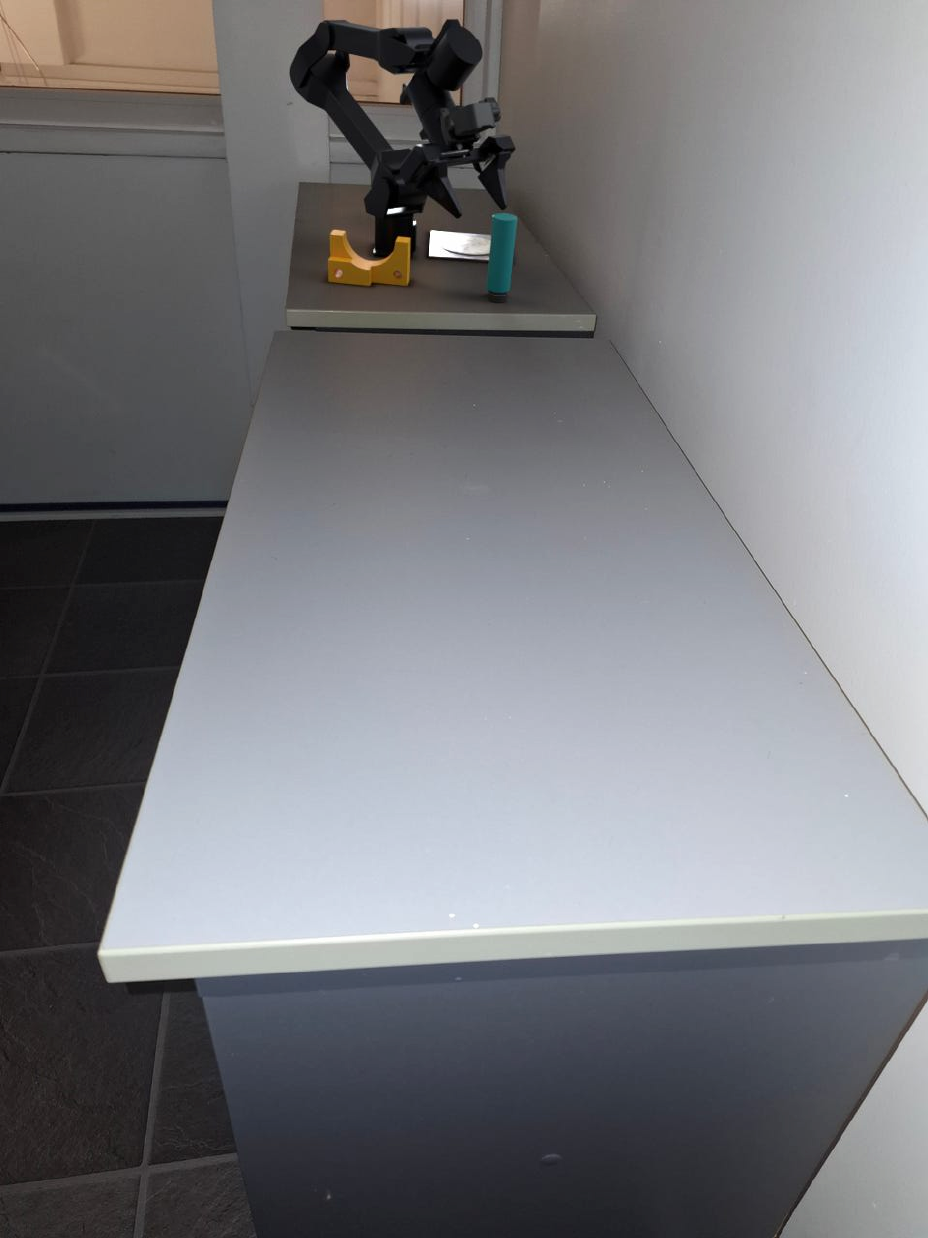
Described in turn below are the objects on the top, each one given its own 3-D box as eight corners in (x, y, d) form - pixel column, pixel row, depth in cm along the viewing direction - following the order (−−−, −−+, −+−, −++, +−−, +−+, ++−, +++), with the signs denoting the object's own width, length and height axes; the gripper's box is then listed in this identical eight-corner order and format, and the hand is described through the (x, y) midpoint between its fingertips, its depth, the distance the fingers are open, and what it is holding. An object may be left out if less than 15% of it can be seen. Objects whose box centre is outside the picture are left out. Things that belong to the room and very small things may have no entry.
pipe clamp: (328, 281, 132) (327, 237, 128) (334, 272, 136) (333, 229, 132) (405, 289, 132) (406, 246, 128) (409, 280, 135) (410, 237, 131)
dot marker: (485, 302, 130) (493, 219, 123) (485, 294, 133) (492, 211, 125) (509, 304, 131) (518, 220, 123) (508, 295, 133) (516, 213, 126)
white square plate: (428, 258, 144) (428, 254, 144) (430, 232, 155) (430, 229, 155) (511, 263, 145) (511, 260, 145) (507, 238, 156) (507, 235, 155)
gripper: (415, 77, 114) (465, 187, 115) (513, 71, 124) (558, 172, 126) (378, 132, 123) (424, 233, 125) (472, 122, 134) (515, 215, 135)
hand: (482, 212), depth 127 cm, fingers open, 9 cm apart
